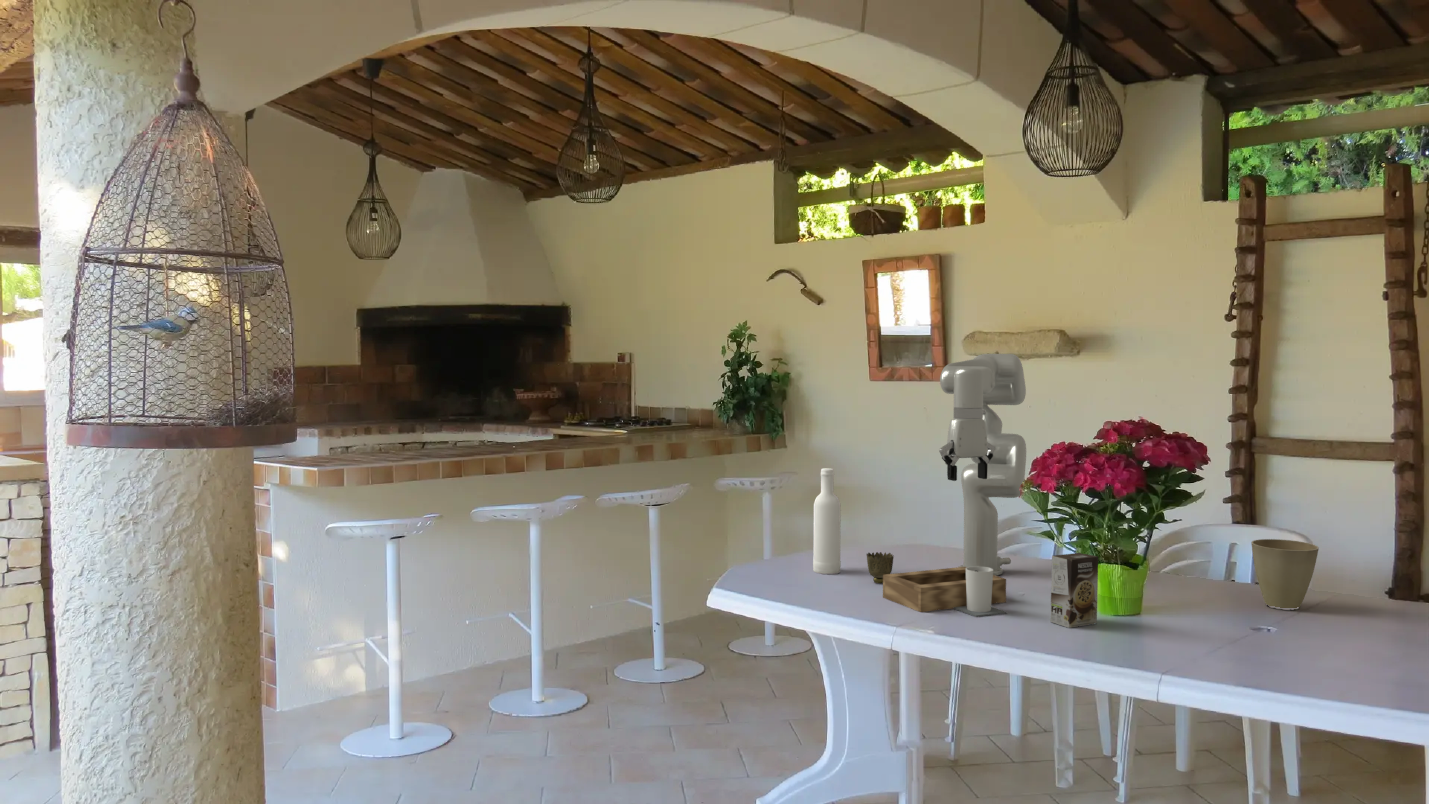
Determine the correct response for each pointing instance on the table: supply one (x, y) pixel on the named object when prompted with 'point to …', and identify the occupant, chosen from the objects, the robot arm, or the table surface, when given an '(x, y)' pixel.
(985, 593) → the white tumbler
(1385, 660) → the table surface
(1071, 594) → the coffee box
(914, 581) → the crate
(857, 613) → the table surface
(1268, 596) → the plant pot
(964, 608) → the coaster
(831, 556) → the bottle
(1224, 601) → the table surface
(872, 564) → the cup
